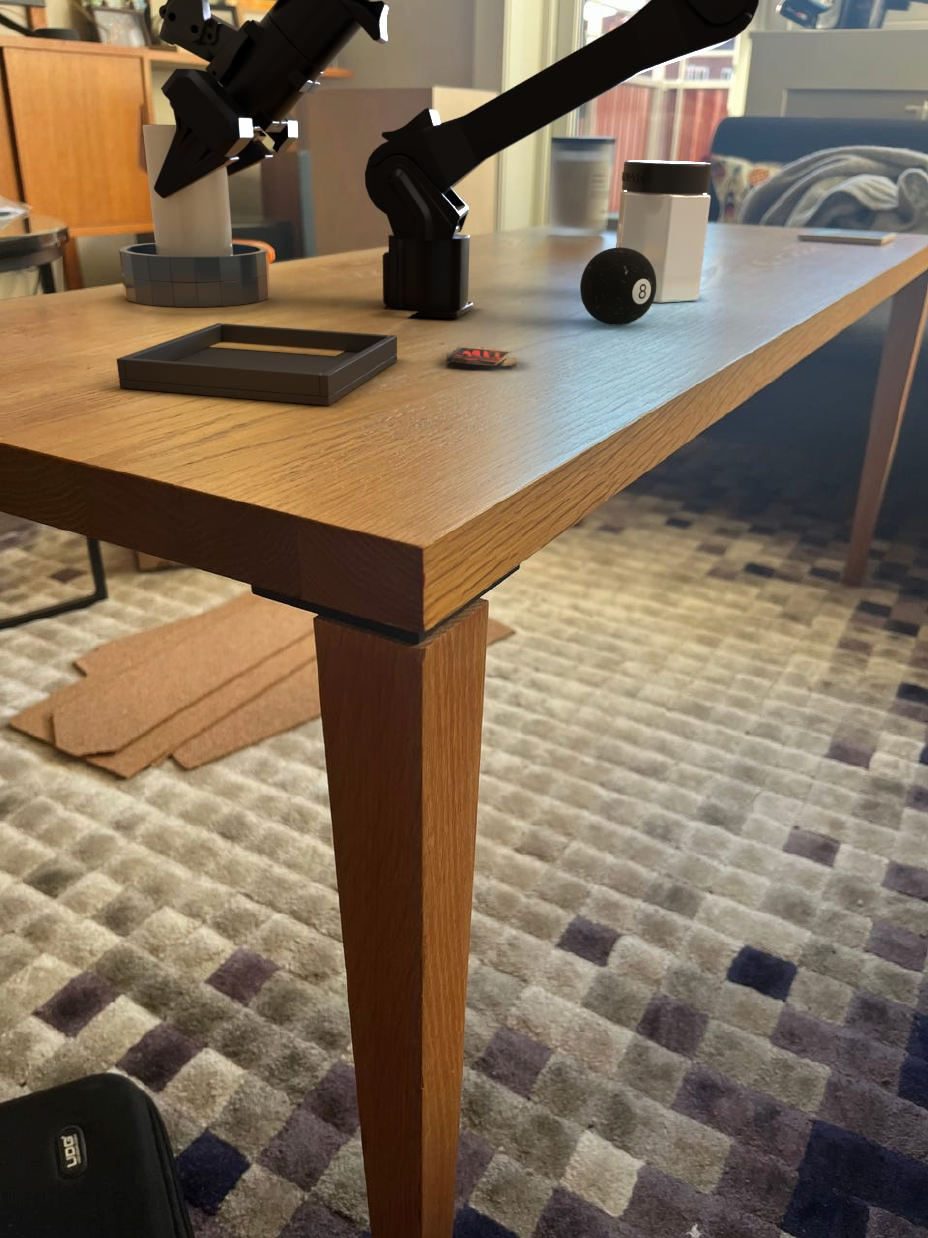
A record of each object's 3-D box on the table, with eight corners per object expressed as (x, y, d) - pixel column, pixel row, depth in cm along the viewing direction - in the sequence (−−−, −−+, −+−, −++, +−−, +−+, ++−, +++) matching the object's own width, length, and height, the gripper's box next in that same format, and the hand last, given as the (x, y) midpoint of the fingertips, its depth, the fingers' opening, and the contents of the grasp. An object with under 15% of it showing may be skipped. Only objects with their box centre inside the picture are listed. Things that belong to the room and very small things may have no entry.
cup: (246, 265, 88) (237, 126, 83) (213, 274, 83) (201, 125, 78) (180, 262, 90) (167, 124, 85) (143, 270, 84) (127, 123, 79)
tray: (397, 361, 67) (397, 335, 67) (328, 406, 56) (327, 375, 55) (219, 347, 70) (217, 322, 69) (119, 387, 59) (115, 358, 58)
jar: (608, 288, 102) (618, 159, 97) (688, 290, 102) (703, 161, 97) (616, 301, 94) (628, 161, 89) (703, 304, 94) (720, 164, 89)
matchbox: (445, 366, 65) (445, 359, 65) (448, 351, 70) (448, 344, 70) (516, 368, 65) (516, 361, 65) (515, 353, 70) (515, 346, 70)
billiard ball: (610, 333, 79) (617, 252, 76) (563, 321, 84) (568, 244, 81) (666, 327, 82) (675, 249, 79) (619, 316, 86) (625, 242, 84)
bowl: (291, 297, 92) (288, 245, 90) (233, 318, 81) (228, 259, 79) (170, 290, 94) (165, 239, 92) (98, 309, 83) (90, 252, 81)
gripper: (253, -28, 84) (141, 116, 90) (175, -68, 68) (44, 111, 73) (348, 80, 87) (234, 212, 93) (296, 67, 70) (161, 229, 76)
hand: (173, 191), depth 84 cm, fingers closed on cup, 6 cm apart
